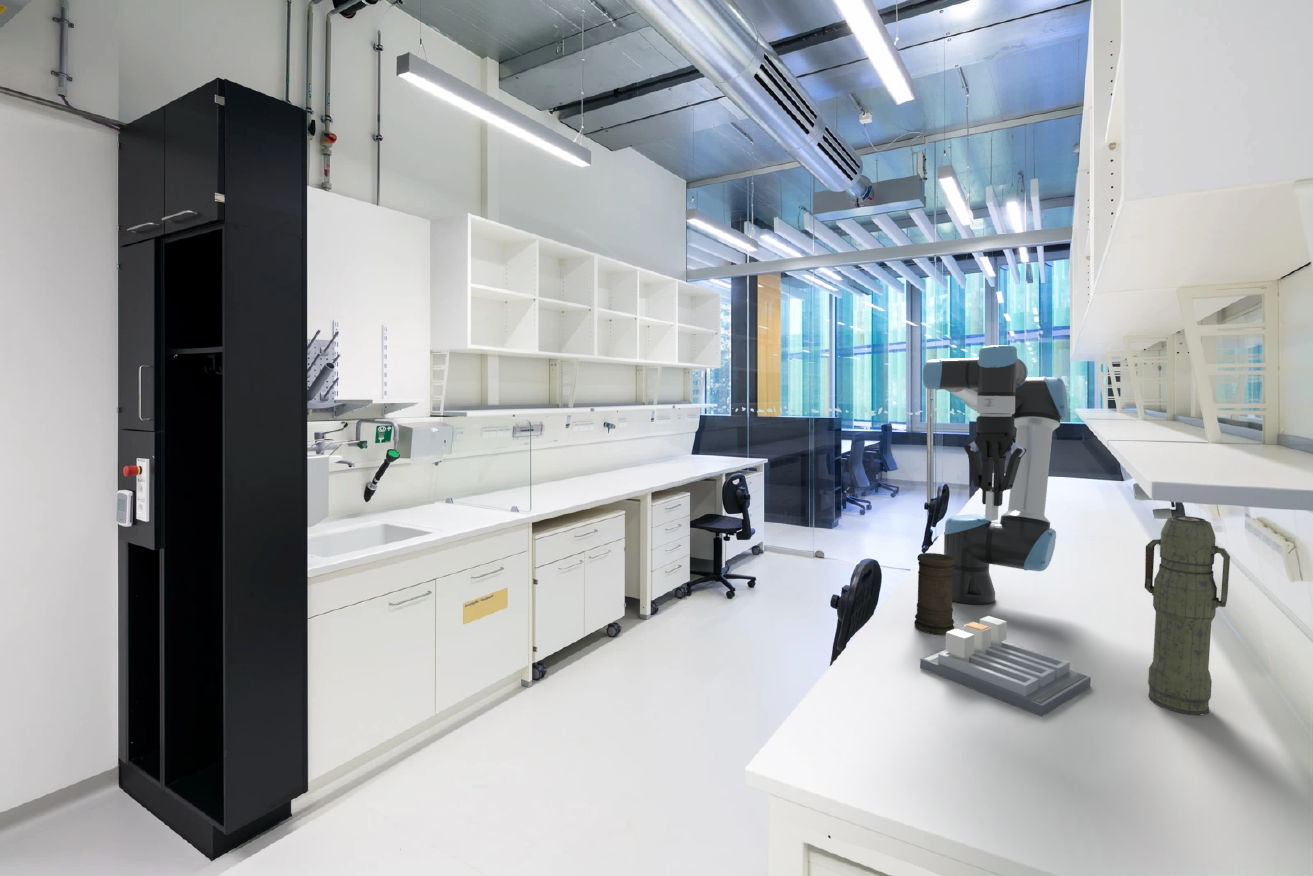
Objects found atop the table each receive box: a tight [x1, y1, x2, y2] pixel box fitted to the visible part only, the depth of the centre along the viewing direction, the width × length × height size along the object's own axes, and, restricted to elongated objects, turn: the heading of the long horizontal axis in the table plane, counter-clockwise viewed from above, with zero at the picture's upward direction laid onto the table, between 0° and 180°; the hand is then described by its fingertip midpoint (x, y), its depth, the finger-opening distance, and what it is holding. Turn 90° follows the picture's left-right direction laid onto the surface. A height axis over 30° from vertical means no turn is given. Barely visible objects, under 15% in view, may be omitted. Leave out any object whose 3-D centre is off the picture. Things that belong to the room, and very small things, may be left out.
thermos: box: [1144, 515, 1231, 716], centre depth 115 cm, size 9×12×35 cm
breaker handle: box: [962, 621, 991, 654], centre depth 131 cm, size 4×4×7 cm
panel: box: [919, 615, 1092, 717], centre depth 126 cm, size 20×24×9 cm
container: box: [913, 552, 956, 636], centre depth 152 cm, size 9×9×18 cm
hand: (991, 519), depth 140 cm, fingers closed
